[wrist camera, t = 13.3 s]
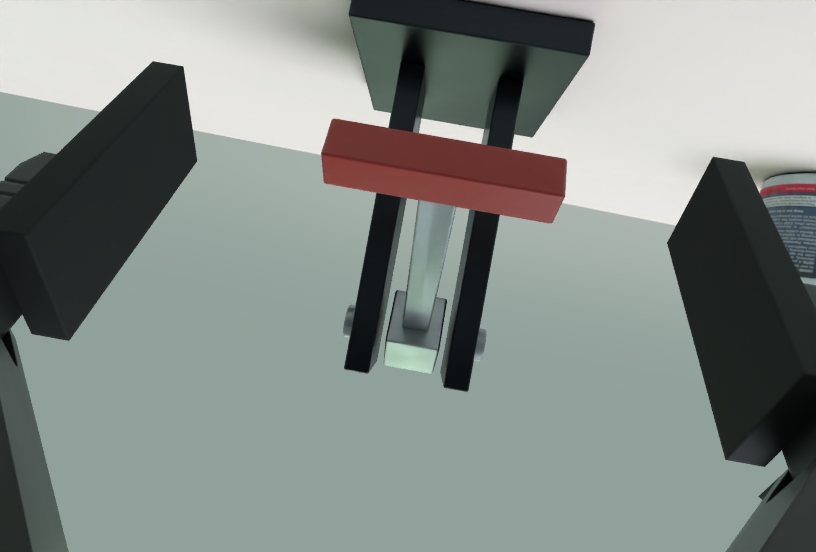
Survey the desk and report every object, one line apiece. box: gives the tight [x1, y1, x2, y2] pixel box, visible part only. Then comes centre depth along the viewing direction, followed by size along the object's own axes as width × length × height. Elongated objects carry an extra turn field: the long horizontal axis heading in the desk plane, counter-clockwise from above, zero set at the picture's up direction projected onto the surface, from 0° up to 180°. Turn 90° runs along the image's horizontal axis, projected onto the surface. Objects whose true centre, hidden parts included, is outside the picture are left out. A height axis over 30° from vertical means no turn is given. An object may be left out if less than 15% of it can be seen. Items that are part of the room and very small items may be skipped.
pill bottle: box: [760, 173, 816, 285], centre depth 35 cm, size 5×5×9 cm
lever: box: [321, 119, 567, 374], centre depth 22 cm, size 13×6×2 cm, turn 2°
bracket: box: [343, 0, 595, 392], centre depth 27 cm, size 11×8×14 cm
